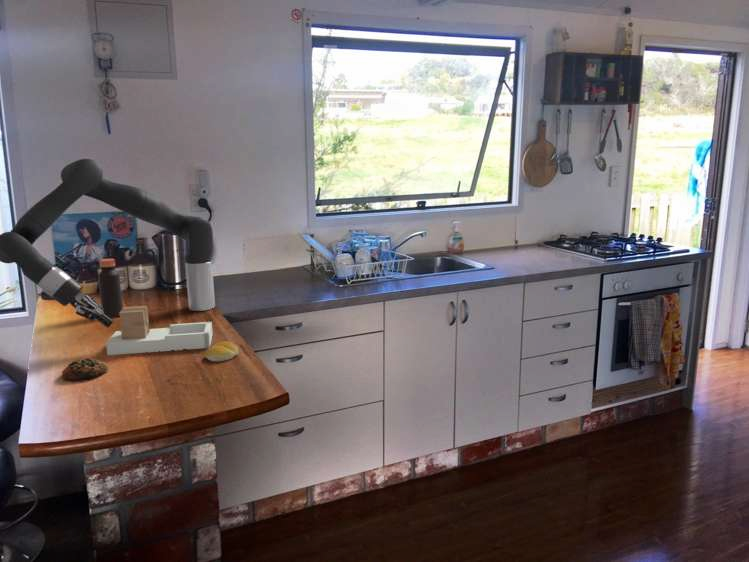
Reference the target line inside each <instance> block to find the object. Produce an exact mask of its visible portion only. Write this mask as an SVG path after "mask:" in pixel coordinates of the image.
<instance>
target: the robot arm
mask: <svg viewBox="0 0 749 562" xmlns="http://www.w3.org/2000/svg"><path fill="white" fill-rule="evenodd" d="M103 176H104V174H103V169H102V167H101V165H100V164H99V163H98V162H97V161H95V160H94V159H91V158H82V159H81V158H80V159H77V160H74V161H73V162H70V163H69V164H67V165H65V166H64V167H63V168H62V169H61V171H60V179H61V182H60V184H59V185H58V186H56V188H54V189H53V190H52V191H51V192H50V193H48V194H47V195H45V196H44V197H42V199H40V200H39V201H38V202H36V203H35V204H33V205H32V206H31V207H30V208H29V209H28V210H27V211H26V212H25V213H24V214H23V215H22V216H21V217H20V218H19V219H18V221H17V222H16V224H14V227H13V228H12V229H11V230H10V231H5V232H2V233H1V234H0V263H3V264H13V263H15V264H16V265H17V266H18V267H19V268H20V269H21V272H22V274H23V275H24V277H26V278H27V279H29V280H30V281H32V283H34V284H36V285H37V286H38V287H39V288H40V289H41V290H42V291H43V292H44V293H45V294H47V295H48V296H50V297H51V298H52V299H54V300H55V301H56V302H58V303H59V305H61V306H63V307H66V306H68V305H71V306H72V307H73V308H74V309H75V310H76V311H75V315H78V316H81V317H82V318H85V319H88V320H90V321H94V320H95V321H98V322H99V323H100V324H101V325H103V326H104V327H106V328H110V326H111V325H112V324H113V323H114V320H113V318H109V317H108V316H107V315H105V314H104V312H103V308H102V306H101V303H99V301H98V300H97V299H96V297H94V296H91V297H90V296H89V295H87V294H84V293H83V292H81V291H82V290H83V289H84V286H83V285H82V284H81V283H79V281H77V280H76V279H75V278H73V277H72V276H70V275H69V274H68V273H66V272H65V271H64V270H62V269H61V268H59V267H58V266H56V265H55V264H53V263H52V262H51V261H50V260H48V259H47V258H45V257H44V256H43V255H41V253H40V252H39V251H38V250H37V248H36V247H34V245H33V244H35V242H36V241H37V240H38V239H39V238H40V237H41V236H42V235H43V234H45V232H47V231H48V229H50V227H51V226H52V225H53V224H54V223H55V222H56V221H58V219H59V218H60V217H61V216H63V214H64V213H65V212H66V211H67V210H68V209H69V208H70V207H71V206H72V205H73V204H74V203H75V202H77V201H78V200H79V199H80V198H82V197H83V196H86V197H88V198H92V199H94V200H97V201H99V202H100V201H101V202H102V203H105V204H106V205H108V206H110V207H113V208H114V209H117V210H119V211H121V212H124V213H126V214H127V215H129V216H131V217H134V218H136V219H138V220H140V221H144V222H145V223H148V224H151V225H153V226H157V227H160V228H162V229H165V230H167V231H168V232H171V233H172V234H174V235H175V236H177V237H179V238H180V239H182V240H184V241H185V242H189V243H188V245H189V246H188V248H189V250H188V252H186V253H185V255H184V265H185V277H186V289H187V300H188V301H187V302H188V309H189V310H190V311H193V312H202V311H208V310H213V309H214V307H215V308H216V300H215V299H216V298H215V288H214V287H215V286H214V274H213V272H214V271H213V263H212V262H213V261H212V259H213V258H212V255H213V254H214V253H213V252H214V237H213V236H214V235H213V228H212V224H211V222H210V221H209V220H208V219H207V218H205V217H202V216H195V215H193V216H192V215H188V214H186V213H183V212H180V211H177V210H175V209H173V208H171V207H170V206H168V205H167V204H166V203H165V202H164V201H163V199H161V198H159V197H157V196H156V195H154V194H152V193H151V192H148V191H146V190H144V189H141V188H140V187H135V186H132V185H128V184H123V183H119V182H114V181H110V180H107V179H106V178H103ZM212 308H213V309H212Z"/></svg>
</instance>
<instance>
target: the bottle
mask: <svg viewBox="0 0 749 562" xmlns="http://www.w3.org/2000/svg"><path fill="white" fill-rule="evenodd" d="M98 263H99V268H100V271H99V273H98V275H97V277H98V278H97V279H98V286H99V287H98V288H99V294H100V305H101V307H102V308H103V312H104V314H105V315H107V316H108V317H109V318H110V319H113V318H112V317H116V318H120V317H119V312H120V311H121V310H122V309H123V308H124V304H123V296H122V295H123V294H122V287H121V285H122V284H121V280H120V279H121V277H120V273H119V271H117V270H116V269H115V267H116V261H115V259H114V258H101V259H99V261H98Z"/></svg>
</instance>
